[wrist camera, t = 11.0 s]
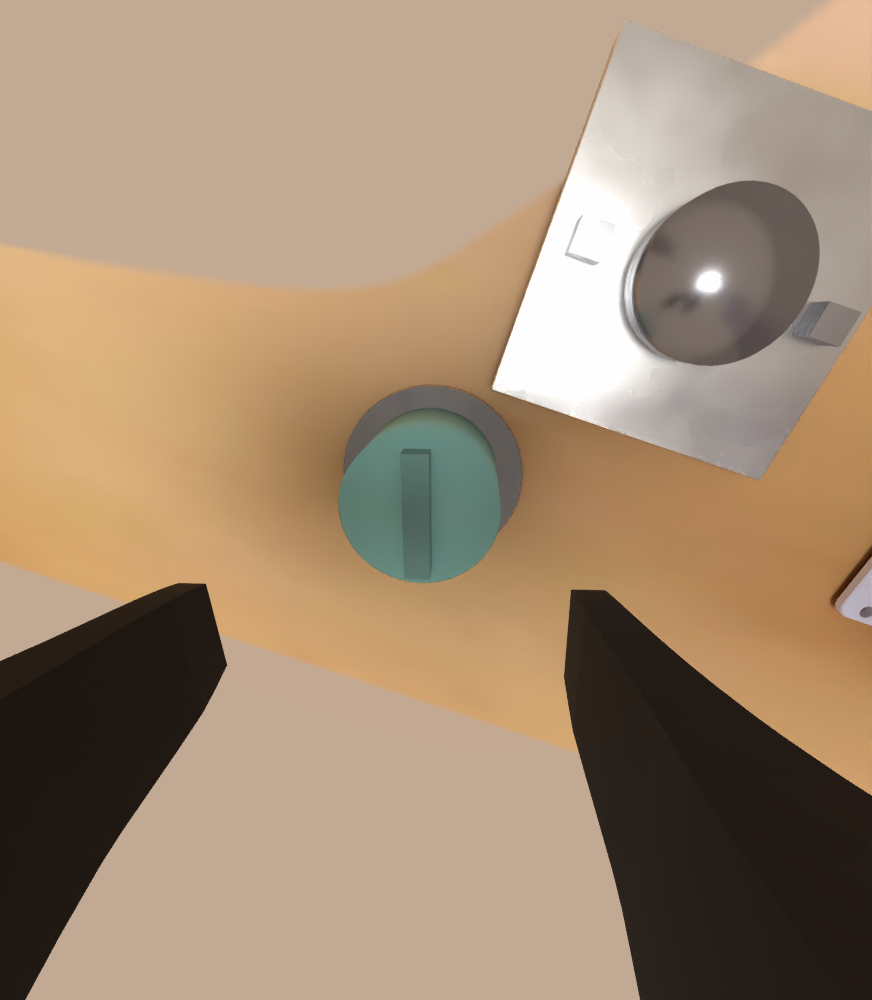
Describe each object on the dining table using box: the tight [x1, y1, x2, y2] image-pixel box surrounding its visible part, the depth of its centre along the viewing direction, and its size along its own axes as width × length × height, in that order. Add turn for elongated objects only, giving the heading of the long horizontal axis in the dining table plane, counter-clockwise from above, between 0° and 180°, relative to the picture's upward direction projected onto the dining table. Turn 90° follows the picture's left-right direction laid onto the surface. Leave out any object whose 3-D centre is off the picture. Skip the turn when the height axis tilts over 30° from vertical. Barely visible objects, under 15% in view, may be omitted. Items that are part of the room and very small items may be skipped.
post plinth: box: [491, 20, 872, 480], centre depth 14 cm, size 10×10×2 cm
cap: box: [338, 408, 501, 583], centre depth 15 cm, size 5×5×5 cm
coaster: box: [344, 385, 522, 533], centre depth 18 cm, size 7×7×1 cm
